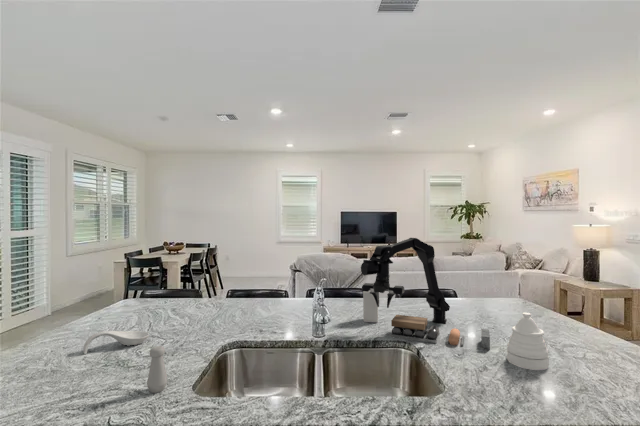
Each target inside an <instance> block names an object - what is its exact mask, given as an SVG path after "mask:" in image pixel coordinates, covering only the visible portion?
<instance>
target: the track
mask: <svg viewBox="0 0 640 426" xmlns="http://www.w3.org/2000/svg"><path fill="white" fill-rule="evenodd" d="M440 333H441V332H440V329H439V327H438V326H437V325H431V326H430V327H429V330H428V326H426V328H425V330H418V329H410V328H403V327H395V326H393V328H392V330H391V334H390V338H393V337H394V339H402V340H407V341H414V342H415V341H416V342H423V343H430V344H437V339H438V337H439V335H440ZM413 335H414V336H413ZM449 335H450V333H447V337H446V340H445V344H446V345H449V344H450V343H449ZM425 336H426V338H425ZM460 344H461V345H460V347H464V344H465V335H461V342H460Z"/></svg>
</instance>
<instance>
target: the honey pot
mask: <svg viewBox="0 0 640 426" xmlns="http://www.w3.org/2000/svg"><path fill="white" fill-rule="evenodd" d="M531 316H532V314H531V313H530V312H522V317H520V318H519V320H518V321H517V322H516V324H515V325H514V326H512V327H511V331H512V332H511V334H510V336H509V337H510V338H509V339H508V343H507V344H506V348H507V349H506V355H507V356H506V359H507V361H508V362H509V363H510V364H512V365H514V366H516V367H519V368H522V369H526V370H531V371H532V370H533V371H543V370H547V369H549V367H550V357H549V356H550V355H549V353H550V352H549V349H548V348H547V344H546V341H545V340H544V337H543V336H544V335H545V332H544V330H543V329H541V328H539V326H538V324H537V323H536V321H535V320H534V319H533V318H532V317H531Z"/></svg>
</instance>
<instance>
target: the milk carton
mask: <svg viewBox="0 0 640 426" xmlns="http://www.w3.org/2000/svg"><path fill="white" fill-rule="evenodd" d="M366 283H367V282H363V285H364V284H366ZM368 283H369V284H373V285H374V283H375V282H368ZM362 294H363V295H362V296H363V297H362V298H363V302H362V303H363V304H362V305H363V306H362V307H363V309H362V311H363V316H362V317H363V322H364V323H376V324H377V323H379V307H378V306H377V304H376V301H375V298H374V296H373V295H372V294H370V290H369V291H368V292H366V291H362Z"/></svg>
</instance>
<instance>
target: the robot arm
mask: <svg viewBox="0 0 640 426" xmlns="http://www.w3.org/2000/svg"><path fill="white" fill-rule="evenodd" d="M408 249H412V250H413V251H414V252H416V255H417V258H418V259H419V260H420V262H421V263H422V265H423V266H422V267H423V271H424V276H425V279H426V284H427V289H428V291H427V293H425V294H424V296H425V299H426V302H427V303H428V305H429V308H430V309H433V310H432V311H433V313H432V315H433V316H432V317H433V318H432V320H431V322H432V323H436V324H447V321H448V319H446V312H448V311H450V308H451V307H450V304H449V303H447V301H446V298H445V296H444V293H443V292H442V290H440V288H439V283H438V279H437V273H436V271H435V265H434V259H435V256H436V255H435V248H434V247H433V245H432V244H431V245H430V244H428V243H425V242H424V241H422V240H420V239H418V238H417V237H408V238H407V239H404V240H402V241H398V242H395V243H392V244H388V245H387V244H385V245H384V244H383V245H377V246H376V247H375V249H374V251H373V253H372V255H371V257H370V258H369V259H363V261H362V263H361V265H360V271H361V272H360V273H361V274H362V275H363V276H369V275H370V276H371V275H375V280H374V282H373V283H374V285H373V284H369V283H370V282H365V283H366V284H364V283H363V284H362V286H361V291H362V292H363V291H366V292H368V291H369V290H370V294H372V295H373V296H374V298H375V301H376V304H377V306H378V308H380V293H381V294H384V293H385V292H388V293H387V302H386V308H387V309H389V308H390V304H391V302H392V299H393V298H394V296H396V295H403V294H405V287H404V285H394V287H393V286H392V287H391V286H390V264H393V263H394V262H393V261H392V260H391V259H390V258H392V257H394V255H395V254H397V253H400V252H402V251H405V250H408Z"/></svg>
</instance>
